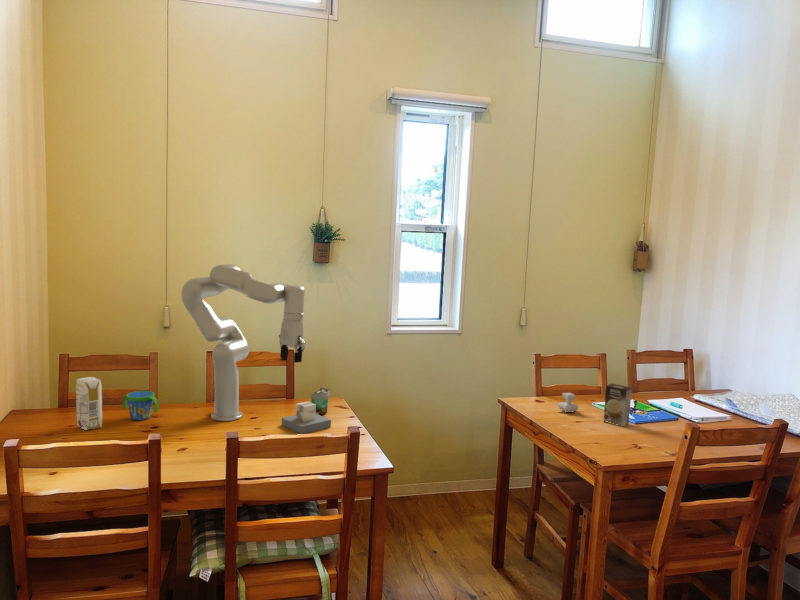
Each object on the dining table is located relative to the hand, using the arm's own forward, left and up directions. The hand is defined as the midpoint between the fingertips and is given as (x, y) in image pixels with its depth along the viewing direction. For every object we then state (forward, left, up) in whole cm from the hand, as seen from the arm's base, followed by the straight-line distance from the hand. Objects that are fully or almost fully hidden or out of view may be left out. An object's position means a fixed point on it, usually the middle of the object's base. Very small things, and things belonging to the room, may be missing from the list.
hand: (290, 359), depth 236 cm
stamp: (+60, +108, -27) cm, 127 cm away
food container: (-5, +19, -27) cm, 33 cm away
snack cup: (-44, -43, -27) cm, 67 cm away
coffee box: (+82, +110, -27) cm, 140 cm away
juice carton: (-44, -62, -27) cm, 80 cm away
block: (+5, +4, -24) cm, 25 cm away
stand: (+5, +4, -27) cm, 28 cm away
